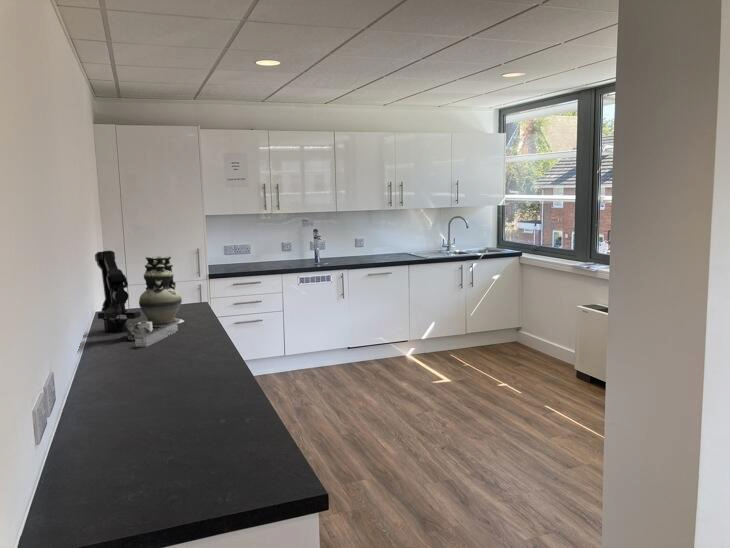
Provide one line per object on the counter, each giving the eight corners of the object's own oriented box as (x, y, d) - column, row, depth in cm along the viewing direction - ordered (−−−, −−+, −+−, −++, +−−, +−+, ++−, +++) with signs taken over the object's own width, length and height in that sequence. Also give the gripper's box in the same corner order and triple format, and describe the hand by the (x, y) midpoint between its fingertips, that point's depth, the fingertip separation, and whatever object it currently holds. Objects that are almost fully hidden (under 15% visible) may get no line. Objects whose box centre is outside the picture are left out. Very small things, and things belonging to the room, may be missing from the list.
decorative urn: (167, 318, 323) (162, 254, 319) (192, 321, 310) (187, 254, 307) (132, 325, 306) (126, 258, 302) (157, 328, 293) (151, 258, 290)
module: (137, 332, 288) (136, 322, 287) (140, 330, 292) (139, 320, 291) (150, 332, 288) (149, 322, 287) (152, 330, 292) (152, 320, 291)
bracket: (135, 346, 260) (134, 335, 259) (167, 331, 289) (167, 321, 288) (147, 346, 259) (147, 335, 258) (178, 331, 288) (178, 321, 287)
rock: (152, 339, 273) (151, 324, 272) (128, 342, 269) (127, 326, 268) (149, 333, 286) (148, 319, 286) (127, 336, 282) (125, 321, 282)
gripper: (88, 303, 268) (91, 336, 270) (126, 303, 265) (129, 337, 267) (103, 298, 279) (106, 331, 281) (139, 298, 276) (142, 331, 278)
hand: (120, 332), depth 276 cm, fingers closed
